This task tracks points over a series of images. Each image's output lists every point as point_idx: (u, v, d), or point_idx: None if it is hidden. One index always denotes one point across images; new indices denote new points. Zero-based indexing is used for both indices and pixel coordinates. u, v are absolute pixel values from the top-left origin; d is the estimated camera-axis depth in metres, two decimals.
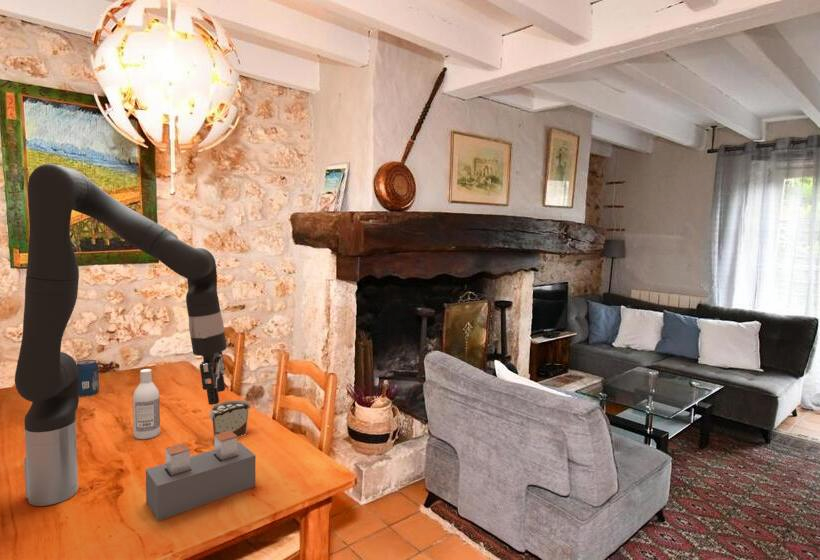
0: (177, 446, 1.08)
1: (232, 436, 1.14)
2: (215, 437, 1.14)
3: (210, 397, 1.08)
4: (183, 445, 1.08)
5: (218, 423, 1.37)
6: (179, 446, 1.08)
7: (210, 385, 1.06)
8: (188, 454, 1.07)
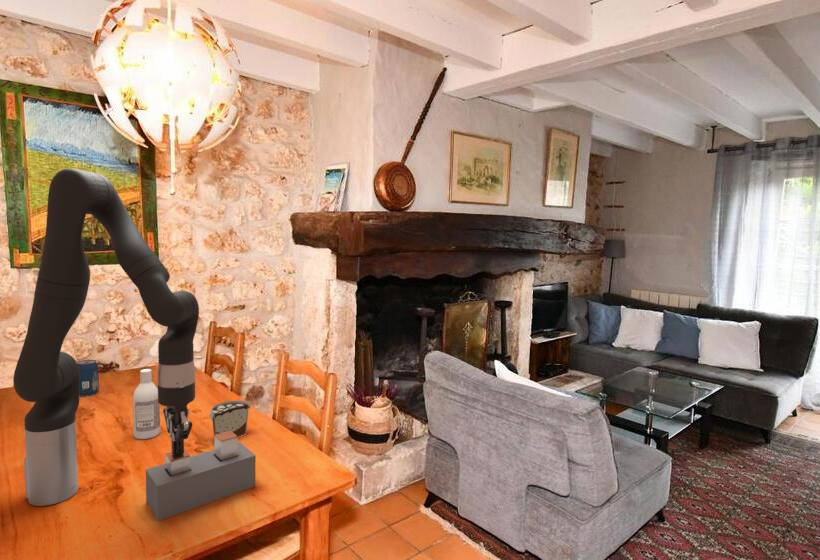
0: None
1: (232, 436, 1.14)
2: (215, 437, 1.14)
3: (178, 448, 1.06)
4: None
5: (218, 423, 1.37)
6: None
7: (184, 436, 1.04)
8: (188, 460, 1.07)
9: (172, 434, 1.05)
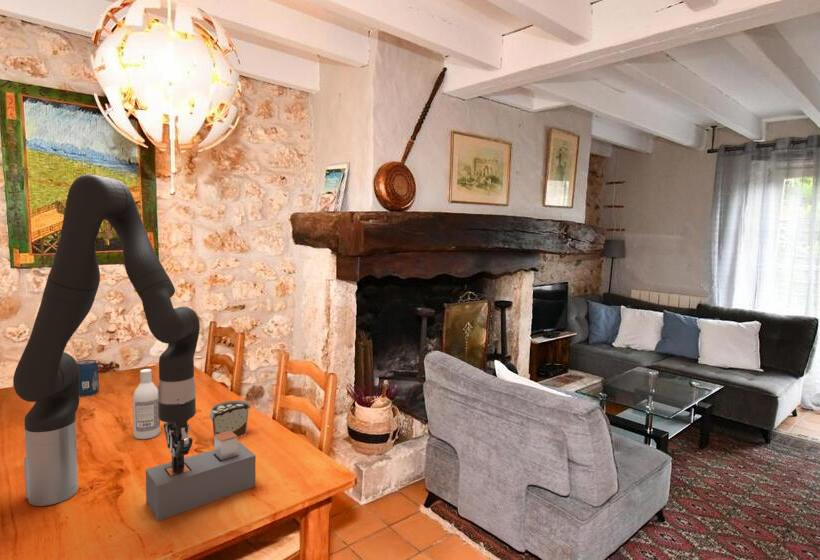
0: None
1: (232, 436, 1.14)
2: (215, 437, 1.14)
3: (178, 464, 1.06)
4: None
5: (218, 423, 1.37)
6: None
7: (184, 451, 1.05)
8: None
9: (172, 450, 1.06)
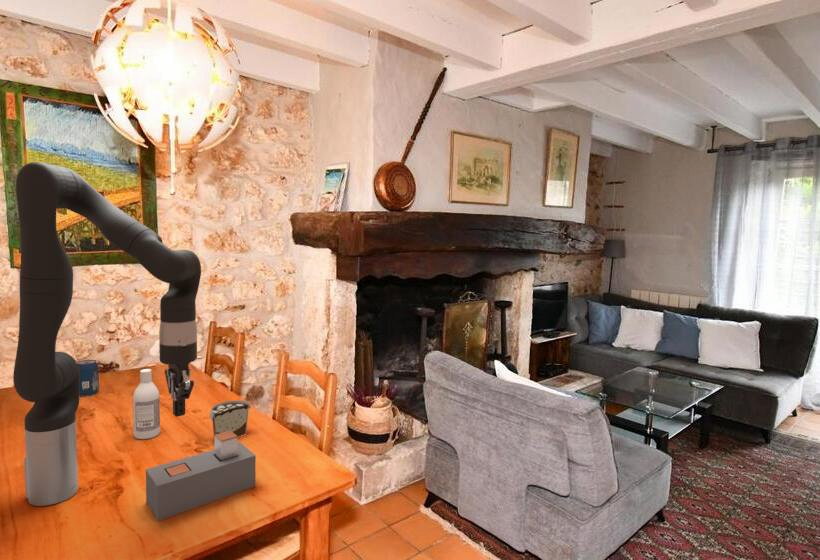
0: (177, 467, 1.08)
1: (232, 436, 1.14)
2: (215, 437, 1.14)
3: (179, 408, 1.05)
4: (183, 466, 1.09)
5: (218, 423, 1.37)
6: (179, 467, 1.09)
7: (185, 395, 1.04)
8: None
9: (173, 394, 1.04)
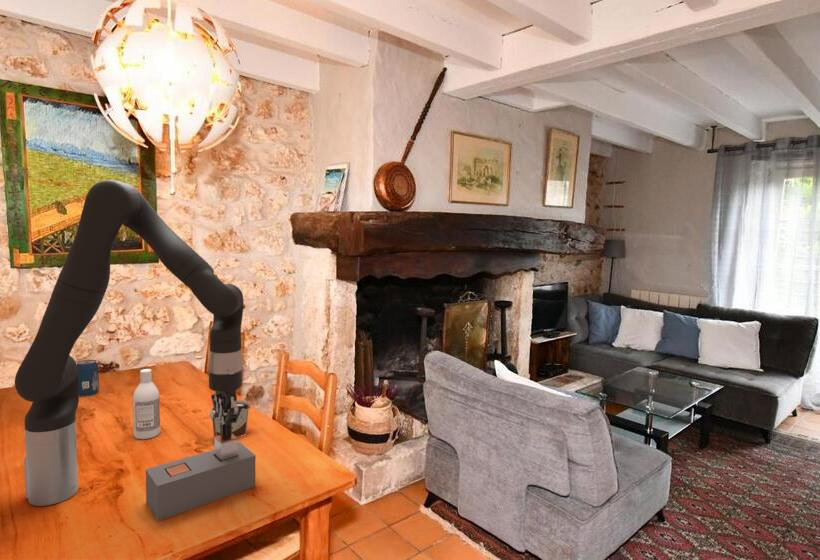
0: (177, 467, 1.08)
1: (232, 438, 1.14)
2: (215, 439, 1.14)
3: (226, 431, 1.13)
4: (183, 466, 1.09)
5: (218, 423, 1.37)
6: (179, 467, 1.09)
7: (232, 419, 1.12)
8: None
9: (221, 418, 1.13)
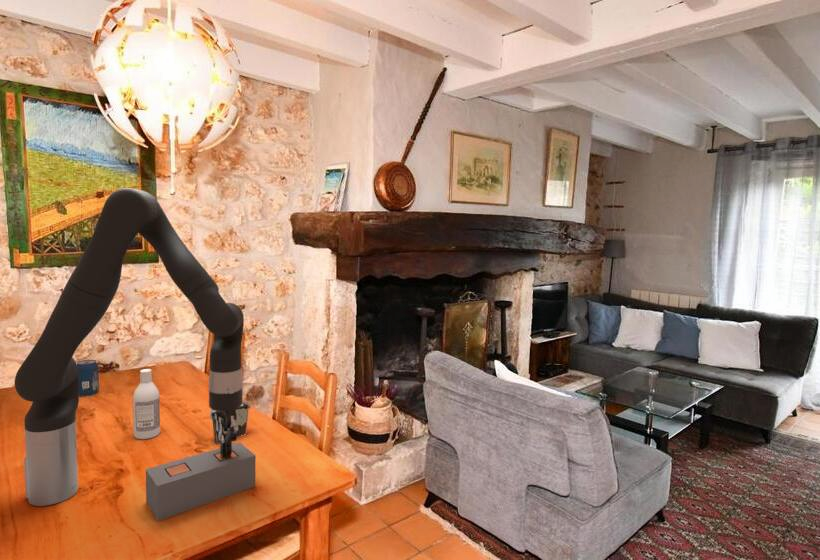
0: (177, 467, 1.08)
1: (232, 456, 1.14)
2: None
3: (226, 450, 1.13)
4: (183, 466, 1.09)
5: None
6: (179, 467, 1.09)
7: (232, 438, 1.12)
8: None
9: (221, 436, 1.13)
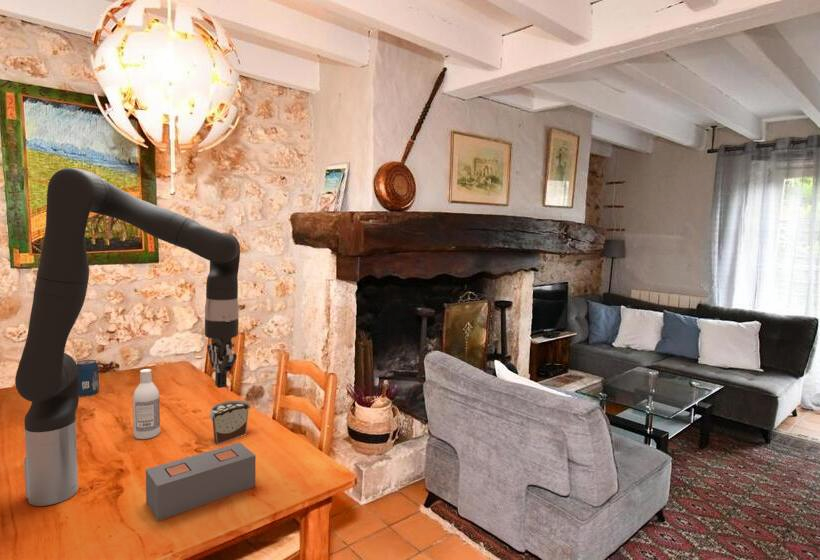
0: (177, 467, 1.08)
1: (232, 456, 1.14)
2: None
3: (221, 380, 1.13)
4: (183, 466, 1.09)
5: (218, 423, 1.37)
6: (179, 467, 1.09)
7: (227, 368, 1.12)
8: None
9: (216, 366, 1.13)
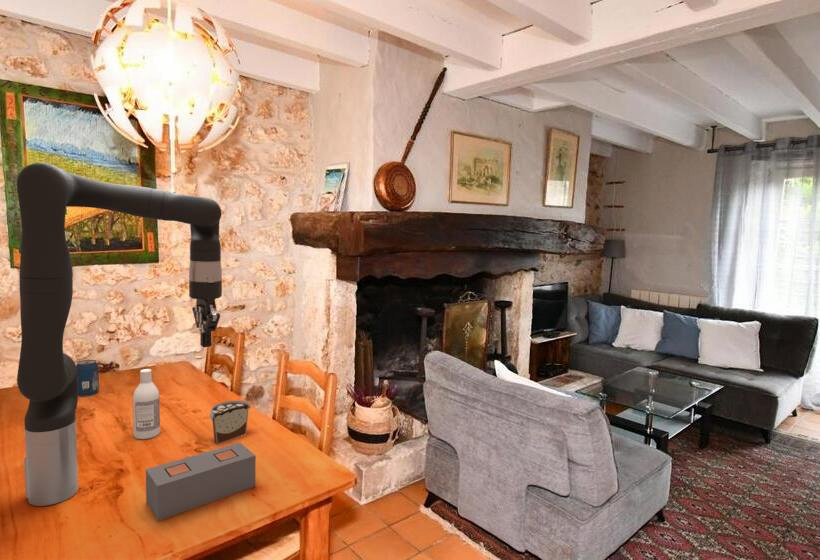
0: (177, 467, 1.08)
1: (232, 456, 1.14)
2: None
3: (206, 340, 1.18)
4: (183, 466, 1.09)
5: (218, 423, 1.37)
6: (179, 467, 1.09)
7: (212, 327, 1.17)
8: None
9: (201, 327, 1.18)
